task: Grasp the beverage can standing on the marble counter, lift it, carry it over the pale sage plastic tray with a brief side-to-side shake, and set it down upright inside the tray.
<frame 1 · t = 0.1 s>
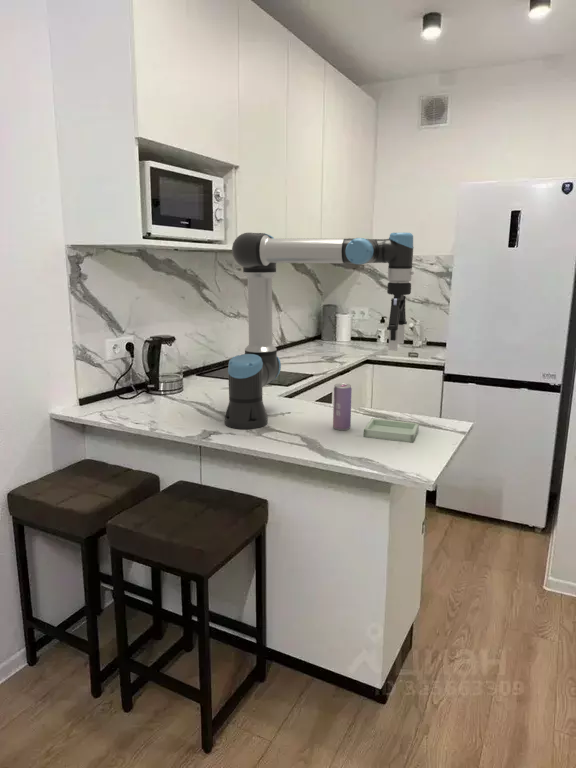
hand: (396, 346, 183), 28 cm above the worktop, fingers open, 13 cm apart
tray: (391, 433, 183), on the worktop
beverage can: (341, 428, 189), on the worktop
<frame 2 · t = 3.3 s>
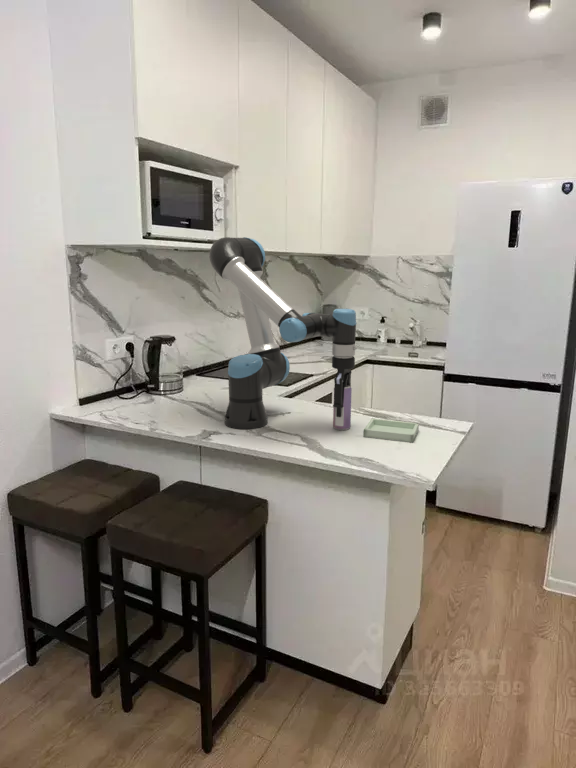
hand: (341, 422, 188), 2 cm above the worktop, fingers closed on beverage can, 6 cm apart
beverage can: (341, 428, 189), on the worktop, touching gripper
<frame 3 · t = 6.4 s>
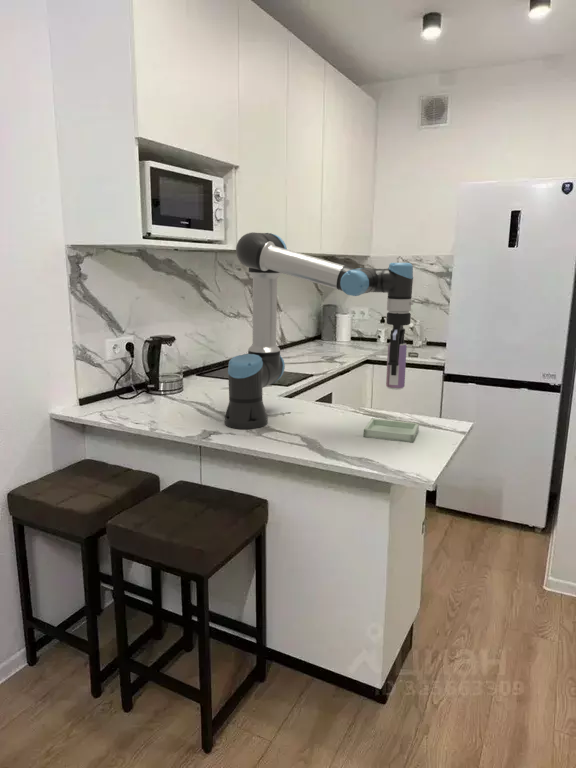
hand: (395, 382, 182), 17 cm above the worktop, fingers closed on beverage can, 6 cm apart
beverage can: (395, 388, 182), point 15 cm above the worktop, touching gripper
when the fingers open (3 cm above the worktop, at t = 9.7 s): beverage can stays where it is, resting on tray.
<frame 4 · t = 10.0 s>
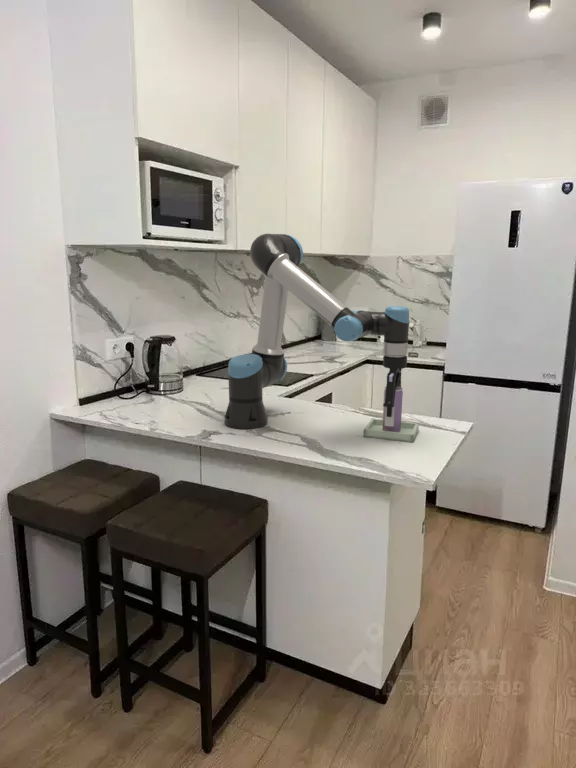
hand: (392, 420, 182), 4 cm above the worktop, fingers open, 10 cm apart
beverage can: (391, 432, 183), resting on tray
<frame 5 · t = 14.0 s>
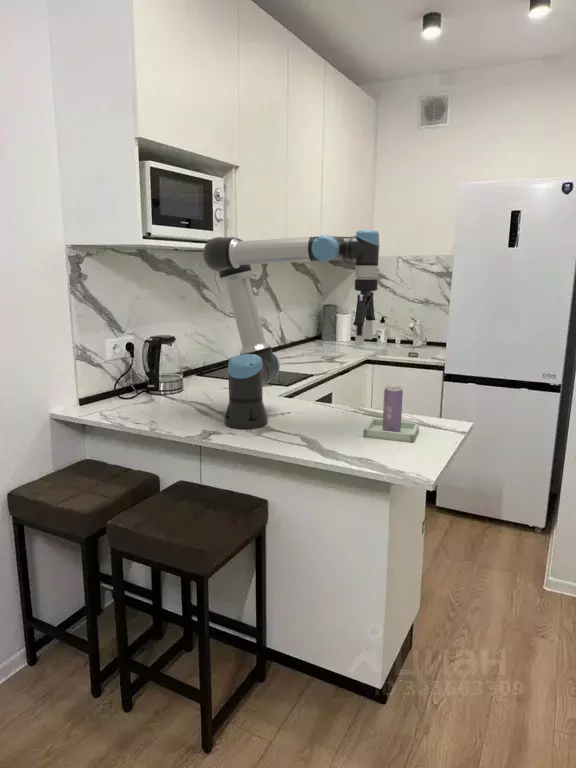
hand: (364, 342, 188), 29 cm above the worktop, fingers open, 13 cm apart
nothing on the worktop moved.
at the end: beverage can inside the target area on the tray (0.0 cm from its centre), point 0.4 cm above the tray's base; beverage can tilted 0°; the gripper is holding nothing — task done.
